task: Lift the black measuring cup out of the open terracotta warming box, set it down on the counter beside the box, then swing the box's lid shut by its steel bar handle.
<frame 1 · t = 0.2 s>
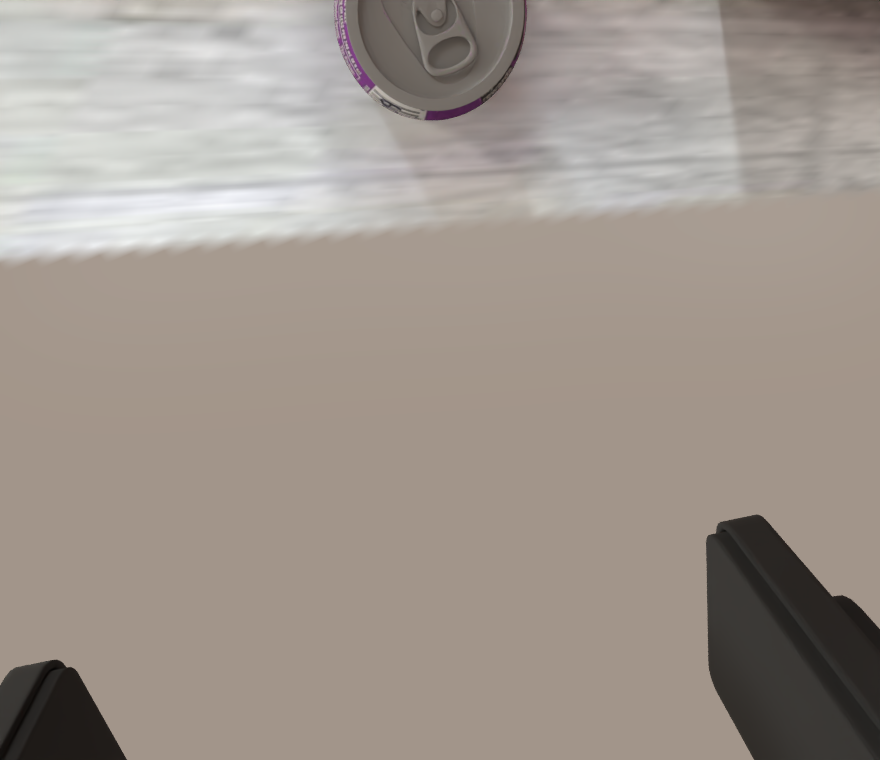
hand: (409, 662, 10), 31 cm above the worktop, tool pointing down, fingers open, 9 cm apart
beverage can: (414, 28, 35), on the worktop
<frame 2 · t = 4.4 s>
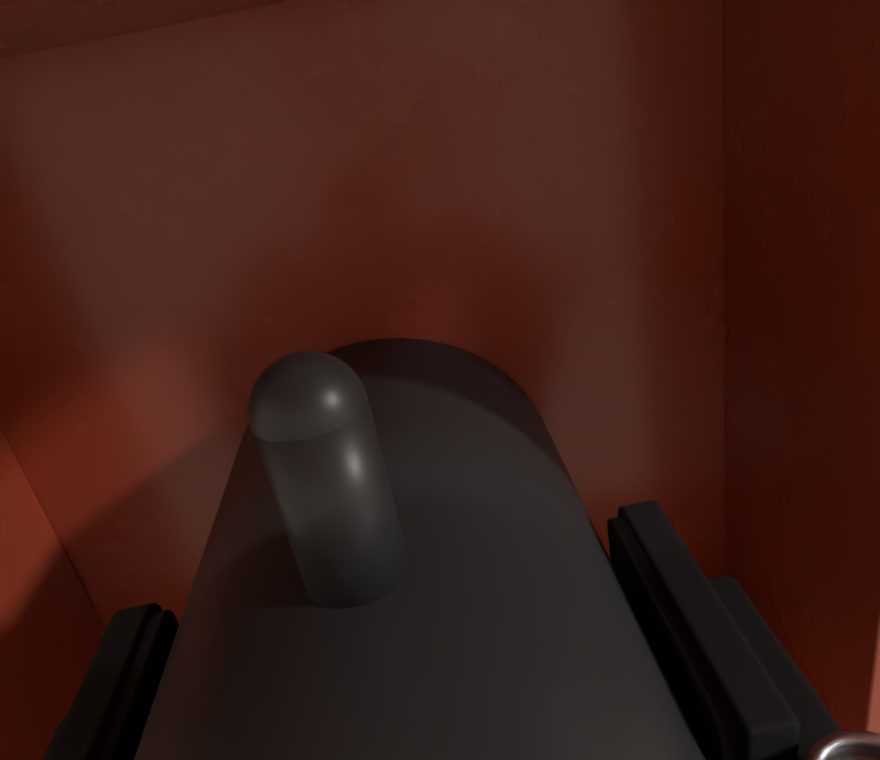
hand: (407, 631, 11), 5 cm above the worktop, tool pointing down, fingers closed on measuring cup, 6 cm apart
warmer: (376, 384, 14), on the worktop
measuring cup: (397, 484, 15), point 1 cm above the worktop, touching gripper, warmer
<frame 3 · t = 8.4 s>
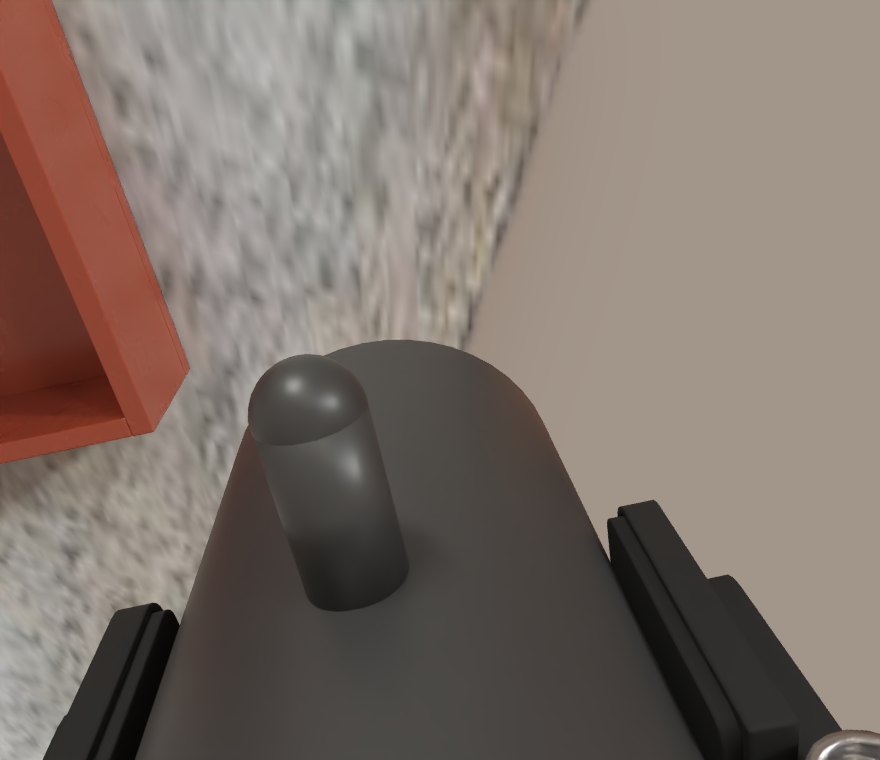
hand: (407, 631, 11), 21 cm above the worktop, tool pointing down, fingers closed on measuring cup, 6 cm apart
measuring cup: (397, 486, 15), point 17 cm above the worktop, touching gripper
when the fingers open (4 cm above the worktop, at t = 12.7 s): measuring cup stays where it is, on the worktop.
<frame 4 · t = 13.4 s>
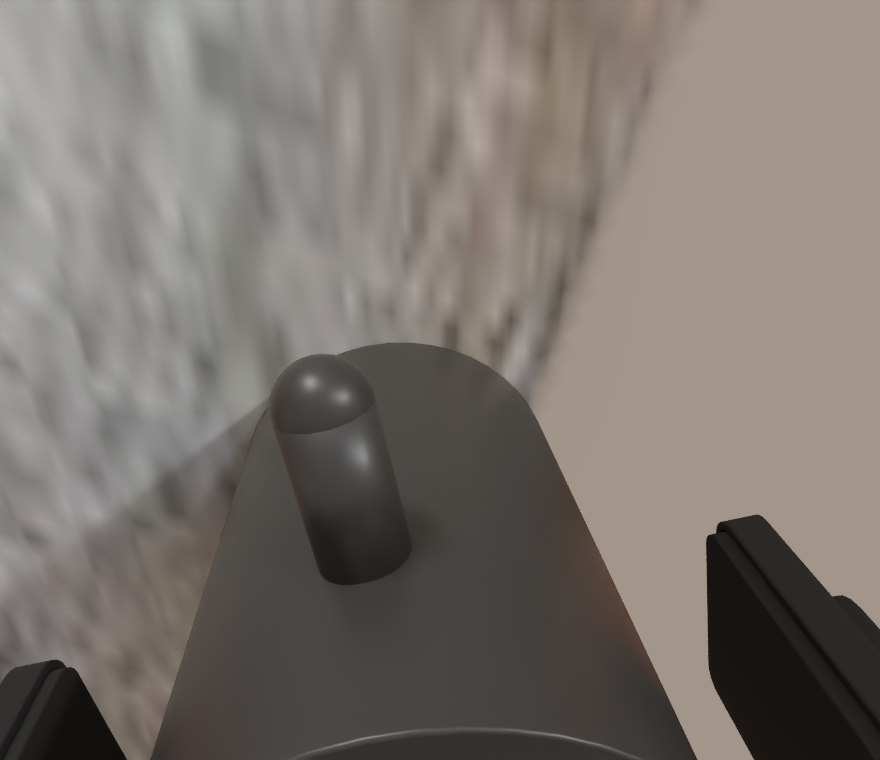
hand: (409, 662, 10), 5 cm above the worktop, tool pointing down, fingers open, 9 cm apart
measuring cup: (399, 481, 15), on the worktop
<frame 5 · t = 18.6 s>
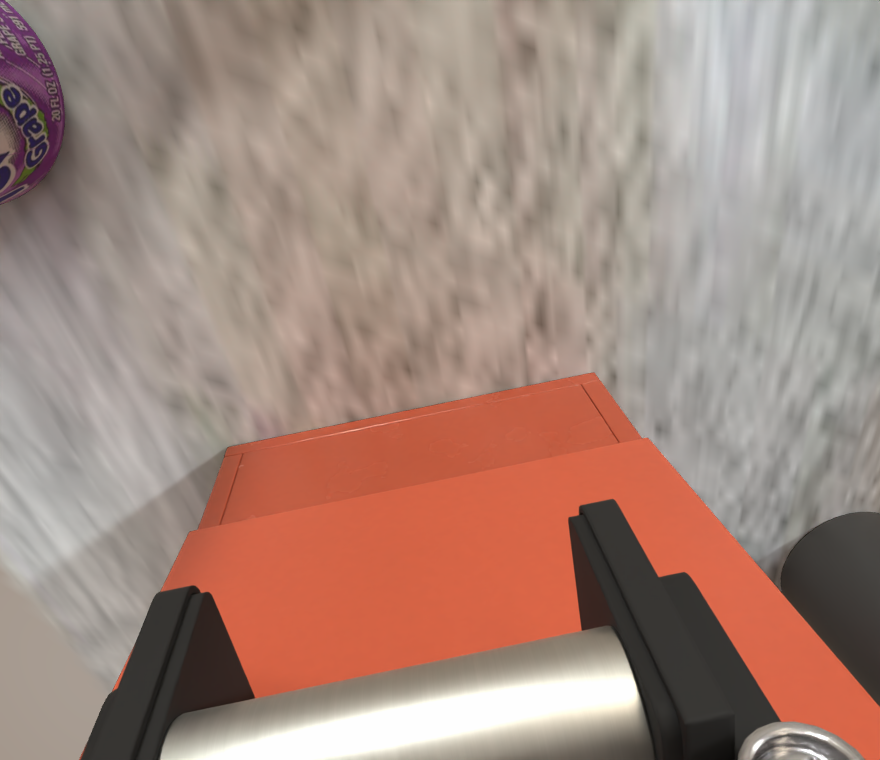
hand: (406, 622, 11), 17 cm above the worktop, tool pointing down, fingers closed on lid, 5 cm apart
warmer: (443, 555, 32), on the worktop
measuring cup: (844, 566, 35), on the worktop
lid: (418, 581, 15), point 14 cm above the worktop, hinge at 95.0°, touching gripper
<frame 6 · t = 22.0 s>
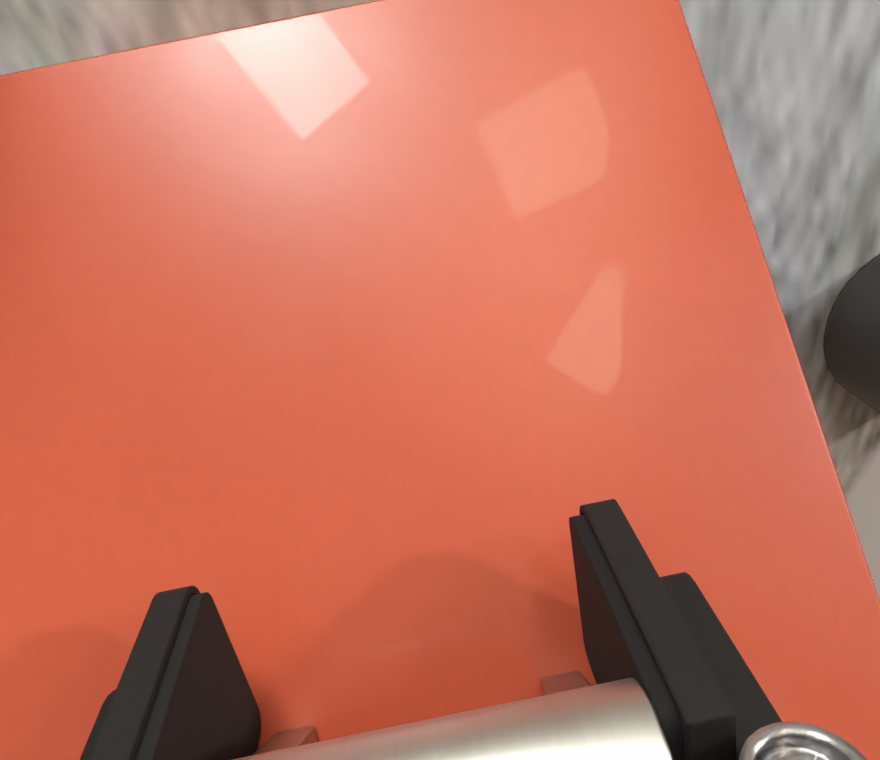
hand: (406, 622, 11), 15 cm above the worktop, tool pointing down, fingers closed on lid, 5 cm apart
lid: (350, 346, 11), point 13 cm above the worktop, hinge at 39.0°, touching gripper
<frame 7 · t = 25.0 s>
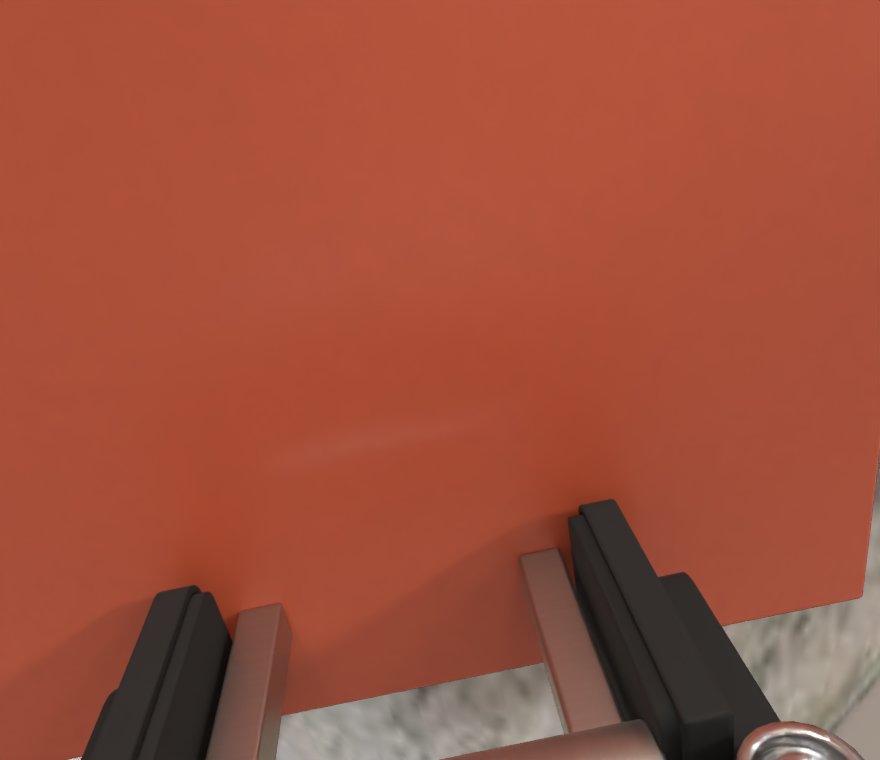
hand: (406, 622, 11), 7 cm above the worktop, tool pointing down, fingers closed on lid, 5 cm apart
lid: (289, 280, 7), point 9 cm above the worktop, hinge at -0.2°, touching gripper, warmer
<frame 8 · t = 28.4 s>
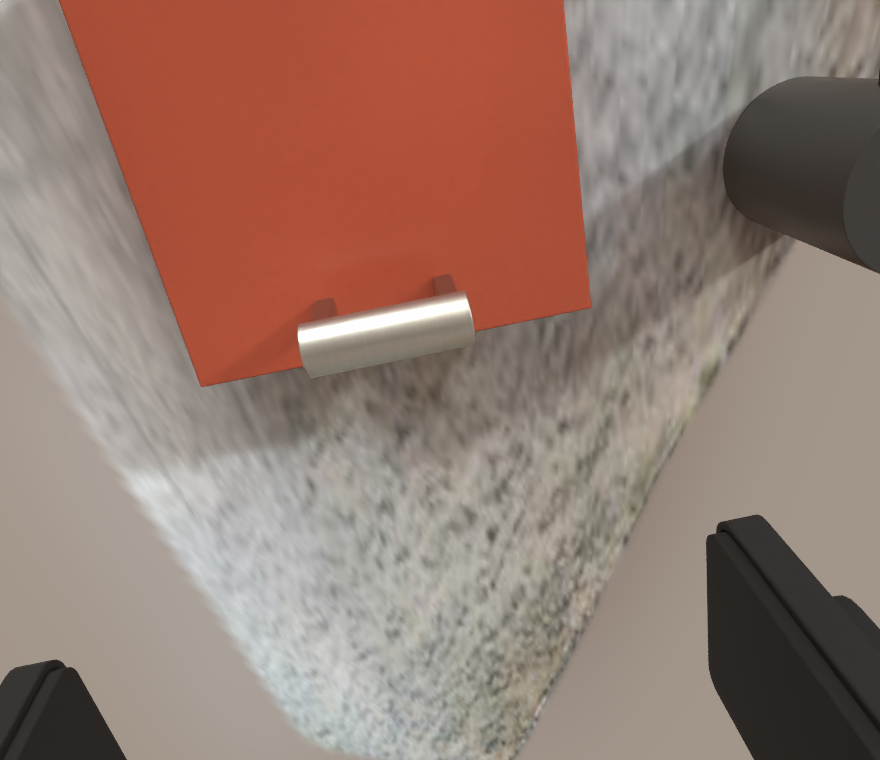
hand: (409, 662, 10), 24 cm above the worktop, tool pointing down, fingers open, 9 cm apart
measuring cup: (792, 154, 32), on the worktop
lid: (345, 136, 22), point 9 cm above the worktop, hinge at -0.2°, touching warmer
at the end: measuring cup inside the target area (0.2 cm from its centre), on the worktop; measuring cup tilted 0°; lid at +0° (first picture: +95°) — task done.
